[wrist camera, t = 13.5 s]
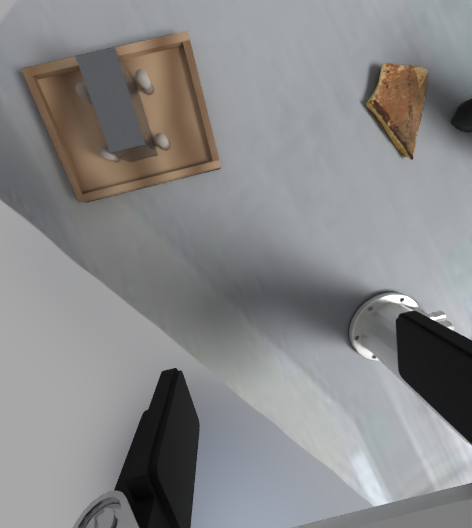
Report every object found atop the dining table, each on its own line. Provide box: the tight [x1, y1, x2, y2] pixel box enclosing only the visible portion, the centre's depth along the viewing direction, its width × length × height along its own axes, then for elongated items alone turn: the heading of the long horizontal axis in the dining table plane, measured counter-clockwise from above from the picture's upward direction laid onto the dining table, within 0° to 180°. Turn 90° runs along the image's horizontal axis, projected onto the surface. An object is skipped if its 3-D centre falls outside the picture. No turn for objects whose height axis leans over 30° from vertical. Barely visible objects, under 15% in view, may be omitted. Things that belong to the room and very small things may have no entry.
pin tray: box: [21, 31, 221, 203], centre depth 27 cm, size 18×14×4 cm
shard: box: [366, 63, 428, 160], centre depth 31 cm, size 11×8×2 cm
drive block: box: [75, 48, 158, 162], centre depth 25 cm, size 4×8×6 cm, turn 14°
